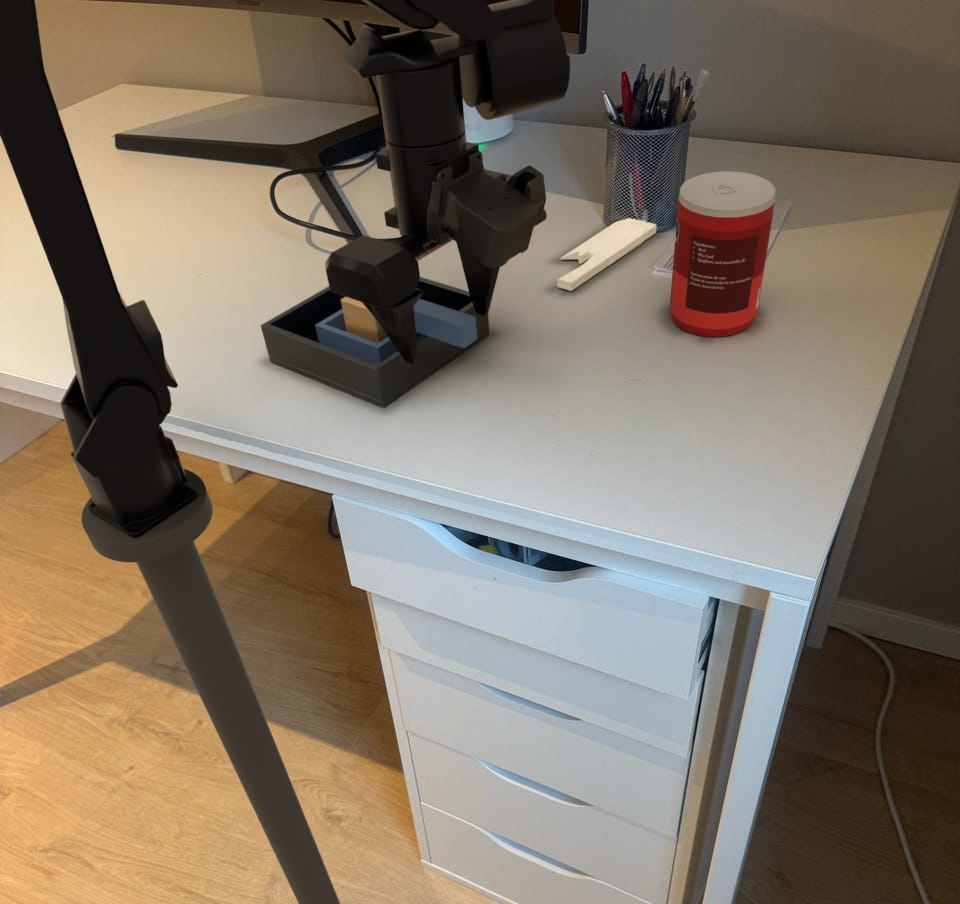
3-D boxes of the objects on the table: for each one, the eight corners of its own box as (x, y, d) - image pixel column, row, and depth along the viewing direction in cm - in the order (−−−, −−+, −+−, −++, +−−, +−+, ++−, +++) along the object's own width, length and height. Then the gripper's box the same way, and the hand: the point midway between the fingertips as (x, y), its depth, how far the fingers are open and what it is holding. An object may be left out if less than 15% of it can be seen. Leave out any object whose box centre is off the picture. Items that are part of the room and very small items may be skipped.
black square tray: (384, 408, 75) (377, 369, 72) (270, 362, 82) (260, 325, 79) (489, 334, 82) (487, 296, 79) (377, 297, 89) (371, 261, 86)
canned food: (719, 288, 85) (734, 163, 77) (775, 322, 80) (798, 192, 72) (651, 311, 83) (659, 185, 75) (704, 347, 78) (719, 217, 70)
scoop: (444, 398, 74) (437, 342, 71) (320, 350, 81) (308, 297, 78) (501, 356, 78) (498, 301, 74) (378, 314, 85) (370, 262, 81)
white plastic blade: (529, 279, 89) (529, 268, 88) (616, 224, 96) (616, 213, 95) (571, 291, 86) (571, 279, 85) (657, 233, 94) (657, 222, 93)
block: (380, 353, 79) (373, 310, 76) (348, 342, 81) (340, 299, 78) (411, 334, 81) (404, 291, 78) (378, 322, 83) (371, 280, 80)
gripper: (423, 202, 55) (449, 420, 67) (594, 109, 65) (591, 314, 76) (300, 171, 61) (343, 378, 72) (474, 89, 70) (488, 283, 81)
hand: (447, 337), depth 75 cm, fingers open, 9 cm apart
